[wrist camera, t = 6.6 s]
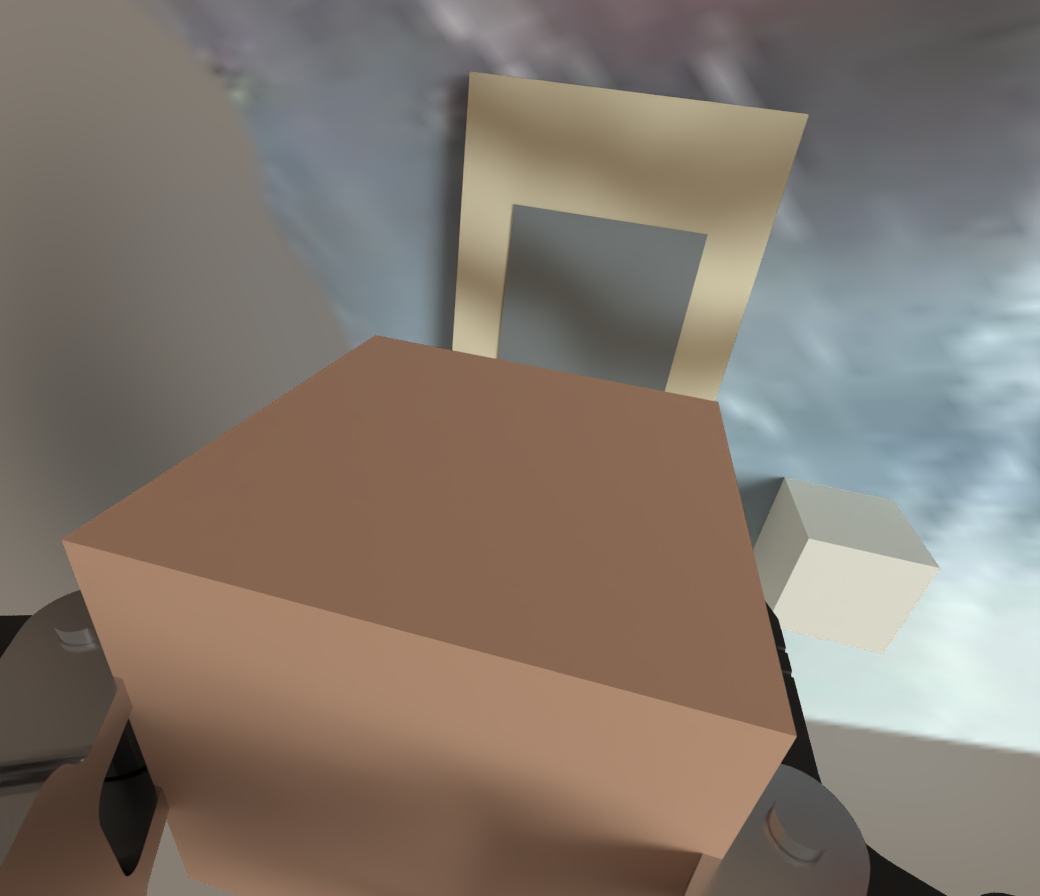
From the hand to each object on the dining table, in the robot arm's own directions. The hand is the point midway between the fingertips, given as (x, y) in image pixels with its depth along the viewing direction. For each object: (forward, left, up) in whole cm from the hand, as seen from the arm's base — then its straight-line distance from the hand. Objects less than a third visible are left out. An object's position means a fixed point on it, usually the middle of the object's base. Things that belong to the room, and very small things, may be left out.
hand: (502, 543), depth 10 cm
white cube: (+9, +13, -17) cm, 23 cm away
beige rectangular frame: (0, 0, -17) cm, 17 cm away
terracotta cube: (0, 0, -1) cm, 1 cm away
